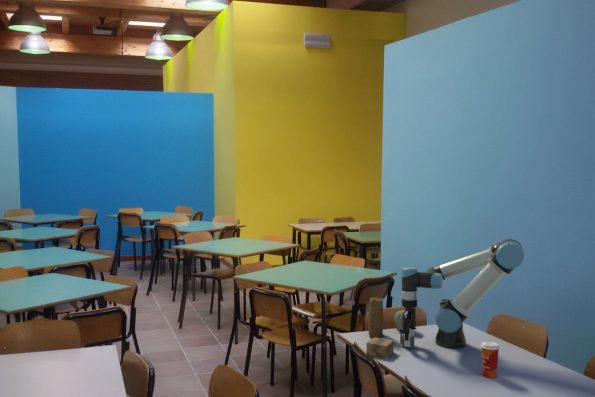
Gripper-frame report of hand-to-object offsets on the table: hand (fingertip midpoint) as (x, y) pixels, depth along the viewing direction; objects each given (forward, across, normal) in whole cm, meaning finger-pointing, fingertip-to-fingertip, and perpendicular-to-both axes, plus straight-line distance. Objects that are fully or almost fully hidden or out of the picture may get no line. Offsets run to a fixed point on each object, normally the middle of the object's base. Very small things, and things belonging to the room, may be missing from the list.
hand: (409, 344), depth 280 cm
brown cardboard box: (+1, +16, -10) cm, 19 cm away
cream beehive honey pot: (+1, -25, -11) cm, 27 cm away
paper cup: (+2, +20, +41) cm, 46 cm away
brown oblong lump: (+1, -10, -22) cm, 24 cm away
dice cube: (+1, 0, -1) cm, 1 cm away
